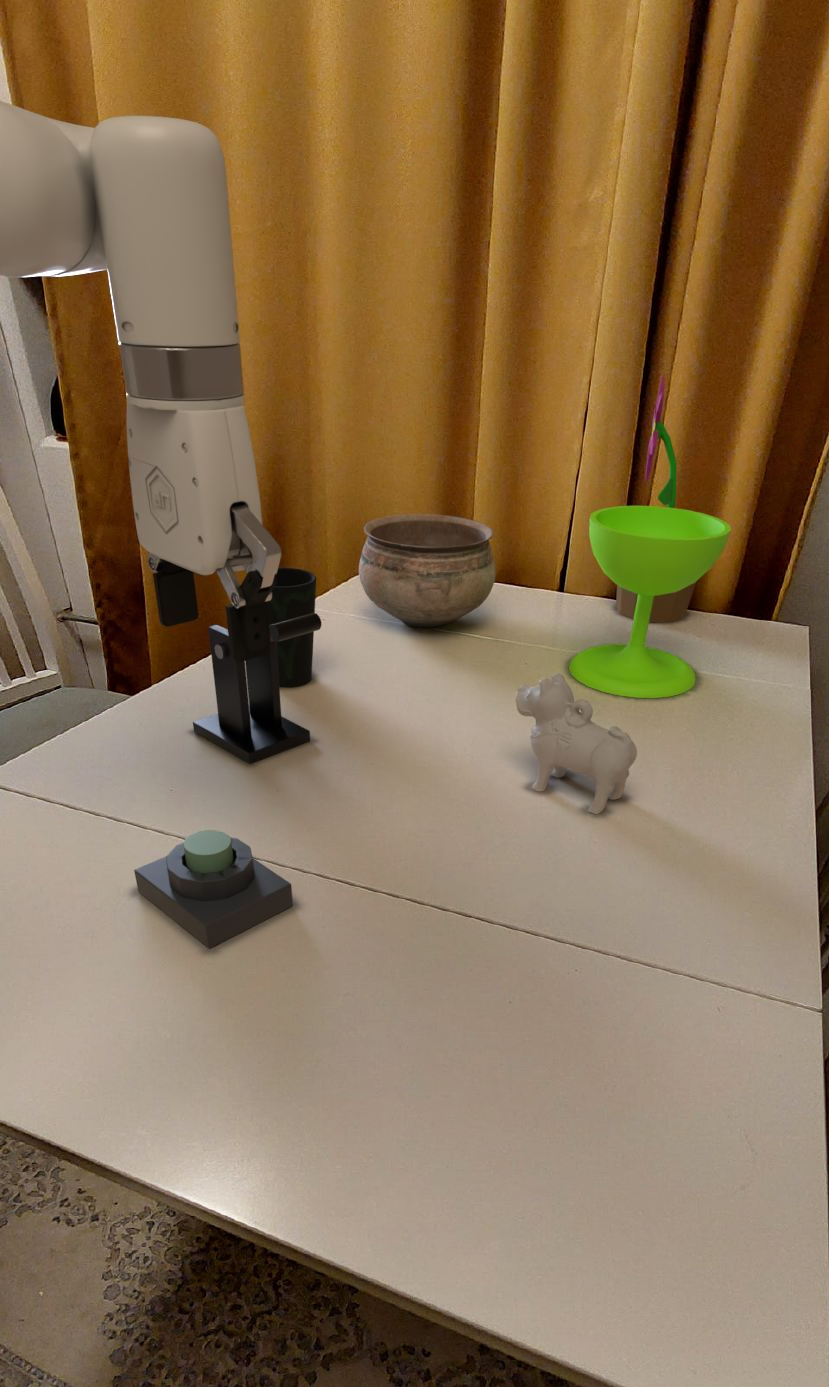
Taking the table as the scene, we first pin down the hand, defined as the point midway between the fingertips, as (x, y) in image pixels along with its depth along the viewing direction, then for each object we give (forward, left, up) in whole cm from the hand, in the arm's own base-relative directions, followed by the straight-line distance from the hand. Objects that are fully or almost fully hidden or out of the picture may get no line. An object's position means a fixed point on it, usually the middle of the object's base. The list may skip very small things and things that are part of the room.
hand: (214, 639), depth 67 cm
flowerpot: (-11, +83, -18) cm, 86 cm away
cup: (-26, +26, -18) cm, 41 cm away
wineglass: (+1, +60, -18) cm, 63 cm away
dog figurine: (+14, +29, -18) cm, 37 cm away
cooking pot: (-30, +54, -18) cm, 64 cm away
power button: (+6, -7, -14) cm, 17 cm away
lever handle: (-11, +13, -7) cm, 19 cm away
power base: (+6, -7, -18) cm, 20 cm away
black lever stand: (-16, +13, -18) cm, 27 cm away
